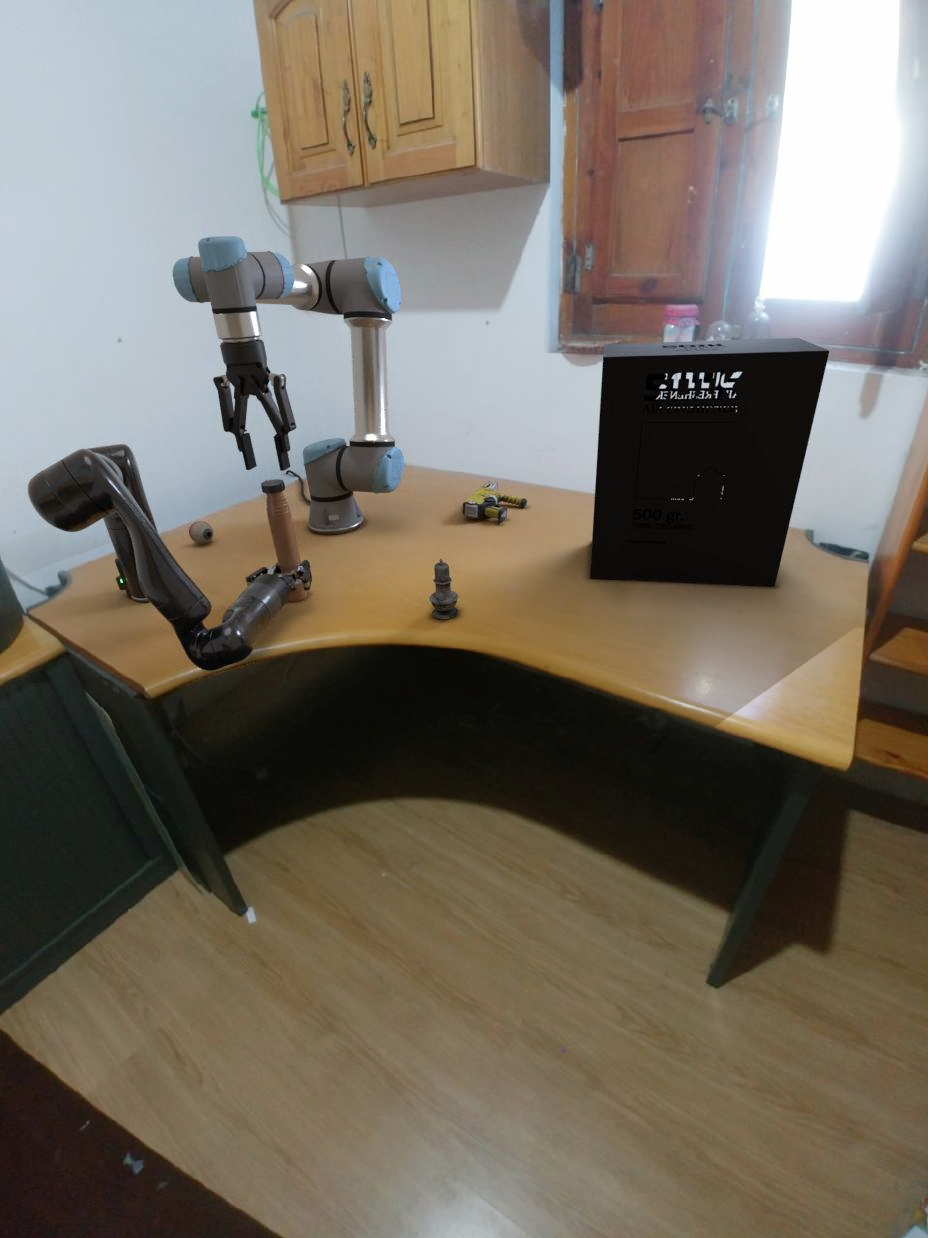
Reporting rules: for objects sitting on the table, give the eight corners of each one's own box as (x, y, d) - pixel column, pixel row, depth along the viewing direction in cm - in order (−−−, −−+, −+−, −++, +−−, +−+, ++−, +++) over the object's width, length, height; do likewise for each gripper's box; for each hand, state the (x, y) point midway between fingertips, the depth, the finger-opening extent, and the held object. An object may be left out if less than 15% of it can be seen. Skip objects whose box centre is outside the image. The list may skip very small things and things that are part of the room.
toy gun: (534, 486, 180) (487, 479, 184) (513, 510, 160) (461, 501, 164) (533, 501, 182) (486, 494, 186) (512, 527, 162) (460, 518, 166)
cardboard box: (755, 547, 142) (798, 337, 120) (774, 586, 125) (829, 350, 102) (592, 542, 150) (603, 344, 127) (589, 578, 133) (603, 356, 110)
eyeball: (202, 548, 159) (196, 527, 156) (187, 544, 162) (181, 523, 159) (221, 540, 163) (215, 519, 160) (206, 537, 166) (200, 516, 163)
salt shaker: (456, 620, 119) (452, 565, 113) (427, 618, 121) (422, 564, 115) (462, 606, 124) (458, 552, 118) (434, 604, 126) (429, 551, 120)
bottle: (309, 598, 131) (286, 485, 119) (287, 603, 130) (262, 489, 117) (305, 589, 135) (282, 479, 123) (284, 594, 134) (259, 483, 121)
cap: (286, 491, 119) (285, 483, 119) (263, 495, 118) (261, 487, 117) (283, 485, 123) (282, 477, 122) (261, 489, 122) (259, 481, 121)
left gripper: (293, 584, 114) (324, 547, 129) (223, 582, 116) (261, 547, 131) (300, 618, 118) (329, 579, 132) (232, 616, 120) (268, 578, 135)
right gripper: (301, 335, 108) (322, 463, 119) (205, 339, 112) (234, 462, 123) (280, 340, 101) (305, 474, 113) (179, 343, 106) (213, 472, 117)
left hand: (295, 563), depth 132 cm, fingers closed on bottle, 4 cm apart
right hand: (268, 468), depth 118 cm, fingers open, 7 cm apart
